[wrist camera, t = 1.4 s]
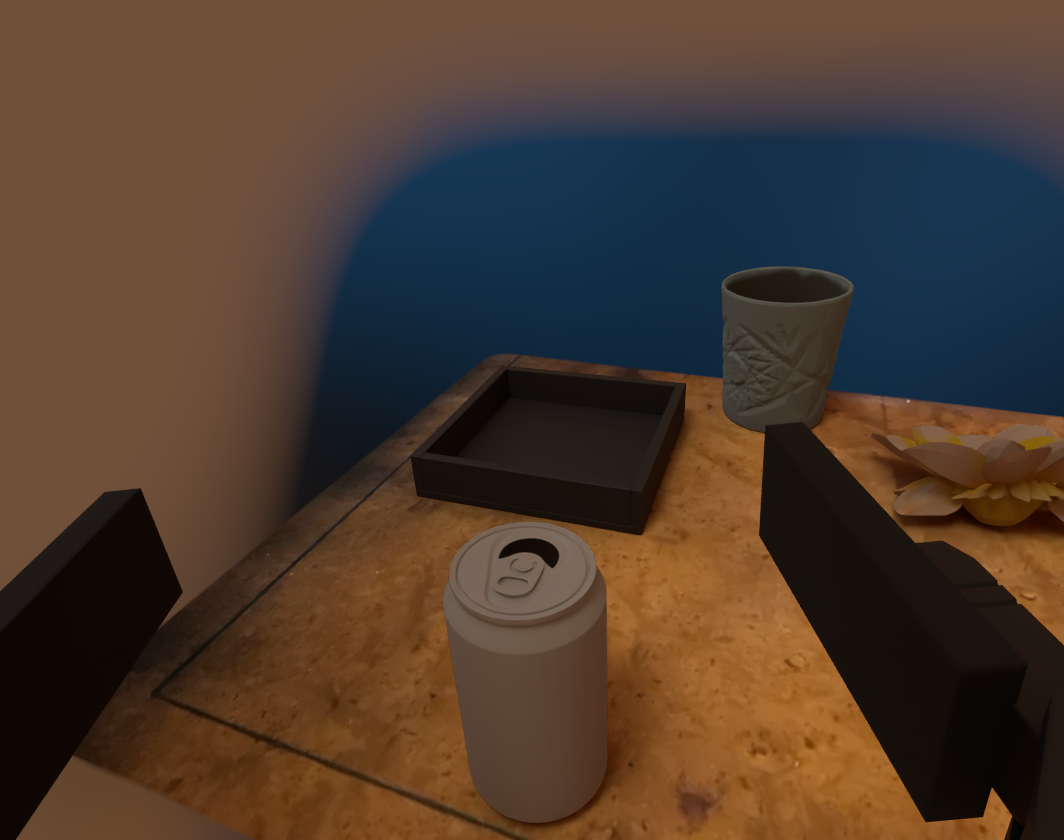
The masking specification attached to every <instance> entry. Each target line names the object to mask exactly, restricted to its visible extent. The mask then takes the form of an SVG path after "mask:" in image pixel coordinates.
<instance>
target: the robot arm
mask: <svg viewBox="0 0 1064 840" xmlns="http://www.w3.org/2000/svg"><path fill="white" fill-rule="evenodd" d="M759 536H760V538H761V539H762V541H763V543H764V545H765V546H766V548H767V550H768V551H769V553H770V555H771V557H772V558H773V560H774V562H775V564H776V565H777V567H778V569H779V570H780V572H781V574H782V576H783V577H784V579H785V581H786V582H787V584H788V586H789V588H790V589H791V591H792V593H793V595H794V596H795V598H796V600H797V601H798V603H799V605H800V607H801V608H802V610H803V612H804V613H805V615H806V617H807V619H808V620H809V622H810V624H811V626H812V627H813V629H814V631H815V632H816V634H817V636H818V638H819V639H820V641H821V643H822V644H823V646H824V648H825V650H826V651H827V653H828V655H829V657H830V658H831V660H832V662H833V663H834V665H835V667H836V669H837V670H838V672H839V674H840V675H841V677H842V679H843V681H844V682H845V684H846V686H847V688H848V689H849V691H850V693H851V694H852V696H853V698H854V700H855V701H856V703H857V705H858V706H859V708H860V710H861V712H862V713H863V715H864V717H865V719H866V720H867V722H868V724H869V725H870V727H871V729H872V731H873V732H874V734H875V736H876V737H877V739H878V741H879V743H880V744H881V746H882V748H883V750H884V751H885V753H886V755H887V756H888V758H889V760H890V762H891V763H892V765H893V767H894V768H895V770H896V772H897V774H898V775H899V777H900V779H901V781H902V782H903V784H904V786H905V787H906V789H907V791H908V793H909V794H910V796H911V798H912V799H913V801H914V803H915V805H916V806H917V808H918V810H919V812H920V813H921V815H922V817H923V818H924V820H925V822H933V821H944V820H955V819H966V818H977V817H983V815H984V811H985V808H986V805H987V801H988V798H989V794H990V791H991V788H993V789H994V790H995V792H996V793H997V795H998V796H999V797H1000V799H1001V800H1002V802H1003V803H1004V805H1005V806H1006V807H1007V809H1008V810H1009V812H1010V813H1011V814H1012V818H1011V821H1010V824H1009V827H1008V830H1007V833H1006V836H1005V839H1004V840H1064V645H1063V644H1062V643H1061V642H1060V641H1059V640H1058V639H1057V638H1056V637H1055V636H1054V635H1053V634H1052V633H1051V632H1049V631H1048V630H1047V629H1046V628H1045V627H1044V626H1043V625H1042V624H1041V623H1040V622H1039V621H1038V620H1037V619H1036V618H1035V617H1034V616H1033V615H1032V614H1031V613H1030V612H1029V611H1028V610H1027V609H1026V608H1025V607H1024V606H1023V605H1022V604H1017V601H1016V598H1015V597H1014V596H1012V595H1011V594H1010V593H1009V592H1008V591H1007V590H1006V589H1005V588H1004V587H1003V586H1002V585H1000V586H999V585H998V583H997V580H996V579H995V578H994V577H993V576H992V575H991V574H990V573H989V572H988V571H987V570H986V569H985V568H984V567H983V566H982V565H981V564H980V563H979V562H978V561H977V560H976V559H974V558H973V557H971V556H969V555H967V554H965V553H964V552H962V551H960V550H958V549H956V548H955V547H953V546H951V545H949V544H947V543H946V542H944V541H934V542H924V543H915V542H914V541H913V540H912V539H911V538H910V537H909V536H908V535H907V534H906V533H905V532H904V531H903V530H902V528H901V527H900V526H899V525H898V524H897V523H896V522H895V521H894V520H893V519H892V518H891V517H890V516H889V514H888V513H887V512H886V511H885V510H884V509H883V508H882V507H881V506H880V505H879V504H878V503H877V501H876V500H875V499H874V498H873V497H872V496H871V495H870V494H869V493H868V492H867V491H866V490H865V489H864V487H863V486H862V485H861V484H860V483H859V482H858V481H857V480H856V479H855V478H854V477H853V476H852V475H851V473H850V472H849V471H848V470H847V469H846V468H845V467H844V466H843V465H842V464H841V463H840V462H839V461H838V459H837V458H836V457H835V456H834V455H833V454H832V453H831V452H830V451H829V450H828V449H827V448H826V447H825V445H824V444H823V443H822V442H821V441H820V440H819V439H818V438H817V437H816V436H815V435H814V434H813V433H812V431H811V430H810V429H809V428H808V427H807V426H806V425H805V424H804V423H803V422H794V423H784V424H775V425H765V442H764V459H763V477H762V494H761V511H760V529H759ZM182 592H183V591H182V589H181V587H180V584H179V581H178V579H177V577H176V574H175V572H174V569H173V567H172V564H171V562H170V559H169V557H168V554H167V552H166V550H165V547H164V545H163V542H162V540H161V537H160V535H159V532H158V530H157V528H156V525H155V523H154V520H153V518H152V515H151V513H150V510H149V508H148V505H147V503H146V501H145V498H144V495H143V493H142V490H141V489H130V490H120V491H110V492H104V493H103V494H102V495H101V496H100V497H99V498H98V499H97V500H96V501H95V502H94V503H93V504H92V505H91V506H90V507H88V508H87V509H86V510H85V511H84V512H83V513H82V514H81V515H80V516H79V517H78V518H77V519H76V520H75V521H74V522H73V523H72V524H71V525H70V526H68V527H67V528H66V529H65V530H64V531H63V532H62V533H61V534H60V535H59V536H58V537H57V538H56V539H55V540H54V541H53V542H52V543H51V544H50V545H49V546H47V548H45V549H44V550H43V551H42V552H41V553H40V554H39V555H38V556H37V557H36V558H35V559H34V560H33V561H32V562H31V563H30V564H29V565H27V567H25V568H24V569H23V570H22V571H21V572H20V573H19V574H18V575H17V576H16V577H15V578H14V579H13V580H12V581H11V582H10V583H9V584H7V586H5V587H4V588H3V589H2V590H1V591H0V840H16V838H17V837H18V836H19V834H20V833H21V831H22V830H23V828H24V827H25V825H26V824H27V822H28V821H29V819H30V818H31V816H32V815H33V813H34V812H35V810H36V809H37V807H38V806H39V804H40V803H41V801H42V800H43V798H44V797H45V795H46V794H47V793H48V791H49V790H50V788H51V787H52V785H53V784H54V782H55V780H56V779H57V778H58V776H59V775H60V773H61V772H62V770H63V769H64V767H65V766H66V764H67V763H68V761H69V760H70V758H71V757H72V755H73V754H74V753H75V751H76V750H77V748H78V747H79V745H80V744H81V742H82V741H83V739H84V738H85V736H86V735H87V733H88V732H89V730H90V729H91V727H92V726H93V724H94V723H95V721H96V720H97V718H98V717H99V715H100V714H101V712H102V711H103V710H104V708H105V707H106V705H107V704H108V702H109V701H110V699H111V698H112V696H113V695H114V693H115V692H116V690H117V689H118V687H119V686H120V684H121V683H122V681H123V680H124V678H125V677H126V675H127V674H128V672H129V671H130V670H131V668H132V667H133V665H134V664H135V662H136V661H137V659H138V658H139V656H140V655H141V653H142V652H143V650H144V649H145V647H146V646H147V644H148V643H149V641H150V640H151V638H152V637H153V635H154V634H155V632H156V631H157V630H158V628H159V627H160V625H161V624H162V622H163V621H164V619H165V618H166V616H167V615H168V613H169V611H170V610H171V608H172V607H173V606H174V604H175V603H176V601H177V600H178V598H179V597H180V595H181V594H182Z"/></svg>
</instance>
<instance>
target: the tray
mask: <svg viewBox="0 0 1064 840" xmlns="http://www.w3.org/2000/svg"><path fill="white" fill-rule="evenodd" d="M685 394H686V383H676V382H665V381H655V380H645V379H634V378H624V377H614V376H604V375H593V374H583V373H573V372H562V371H552V370H542V369H532V368H521V367H511V366H510V367H509V366H501V367H500V368H499V369H498V370H497V371H496V372H495V373H494V374H493V375H492V376H491V377H490V378H489V379H488V380H487V381H486V382H485V383H484V384H483V385H482V386H481V387H480V388H479V389H478V390H477V391H476V392H475V393H474V394H473V395H472V396H471V397H470V398H469V399H468V400H467V401H466V402H465V403H464V404H463V405H462V406H461V407H460V408H459V409H458V410H457V411H455V412H454V413H453V414H452V415H451V416H450V417H449V418H448V419H447V420H446V421H445V422H444V423H443V424H442V425H441V426H440V427H439V428H438V429H437V430H436V431H435V432H434V433H433V434H432V435H431V436H430V437H429V438H428V439H427V440H426V441H425V442H424V443H423V444H422V445H421V446H420V447H419V448H418V449H417V450H416V451H415V452H414V453H413V454H412V455H411V462H412V468H413V474H414V480H415V486H416V492H417V495H418V496H423V497H429V498H435V499H440V500H446V501H451V502H457V503H463V504H468V505H474V506H480V507H485V508H491V509H497V510H502V511H508V512H513V513H519V514H525V515H530V516H536V517H542V518H547V519H553V520H559V521H564V522H570V523H575V524H581V525H587V526H592V527H598V528H604V529H609V530H615V531H621V532H626V533H632V534H637V535H641V534H642V532H643V529H644V527H645V524H646V521H647V518H648V516H649V513H650V510H651V508H652V505H653V502H654V499H655V497H656V494H657V491H658V489H659V486H660V483H661V480H662V478H663V475H664V472H665V470H666V467H667V464H668V461H669V459H670V456H671V453H672V451H673V448H674V445H675V443H676V440H677V437H678V434H679V432H680V429H681V426H682V424H683V421H684V413H685Z"/></svg>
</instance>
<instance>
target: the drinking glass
mask: <svg viewBox="0 0 1064 840" xmlns="http://www.w3.org/2000/svg"><path fill="white" fill-rule="evenodd" d="M853 290H854V287H853V284H852V283H851V282H850V281H849V280H847V279H846V278H844V277H842V276H840V275H837V274H833V273H830V272H826V271H821V270H817V269H809V268H801V267H764V268H755V269H751V270H746V271H742V272H738V273H734V274H732V275H730V276H729V277H727V278H726V279H724V281H723V283H722V308H723V321H724V323H725V326H724V328H723V350H724V353H723V359H724V365H723V371H724V372H723V408H724V412H725V414H726V416H727V417H728V418H729V419H730V420H731V421H733V422H735V423H736V424H738V425H740V426H742V427H745V428H748V429H751V430H754V431H759V432H764V433H765V425H775V424H784V423H794V422H803V423H804V424H805V425H806V426H807V427H808V428H809V429H811V428H813V427H815V426H816V425H817V424H818V423H820V420H821V418H822V416H823V412H824V408H825V403H826V399H827V390H826V389H827V387H828V386H829V384H830V379H831V377H832V375H833V366H834V365H835V362H836V358H837V350H838V346H839V343H840V337H841V333H842V331H843V326H844V322H845V319H846V315H847V312H848V308H849V305H850V301H851V298H852V294H853Z"/></svg>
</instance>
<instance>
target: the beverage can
mask: <svg viewBox="0 0 1064 840" xmlns="http://www.w3.org/2000/svg"><path fill="white" fill-rule="evenodd" d="M443 607H444V613H445V619H446V625H447V632H448V638H449V644H450V650H451V656H452V663H453V669H454V675H455V681H456V688H457V694H458V700H459V706H460V712H461V719H462V725H463V731H464V737H465V744H466V750H467V756H468V762H469V768H470V774H471V777H472V780H473V783H474V785H475V787H476V789H477V791H478V792H479V794H480V795H481V797H482V798H483V799H484V800H485V801H486V802H487V804H488V805H490V806H491V807H492V808H493V809H494V810H496V811H497V812H499V813H500V814H502V815H504V816H506V817H508V818H511V819H514V820H517V821H521V822H527V823H545V822H551V821H555V820H559V819H562V818H564V817H567V816H569V815H571V814H573V813H574V812H576V811H578V810H579V809H580V808H582V807H583V806H584V805H585V804H586V803H587V802H588V801H589V800H590V799H591V798H592V797H593V796H594V794H595V793H596V792H597V790H598V789H599V787H600V785H601V783H602V781H603V778H604V775H605V772H606V768H607V761H608V734H607V604H606V585H605V581H604V578H603V576H602V574H601V572H600V570H599V569H598V567H597V566H596V560H595V557H594V554H593V552H592V550H591V548H590V547H589V546H588V544H587V543H586V542H585V541H584V540H583V539H582V538H580V537H579V536H577V535H576V534H574V533H572V532H571V531H569V530H567V529H565V528H562V527H559V526H556V525H552V524H548V523H541V522H516V523H509V524H504V525H500V526H497V527H494V528H491V529H488V530H486V531H484V532H482V533H480V534H478V535H476V536H475V537H473V538H471V539H470V540H469V541H467V542H466V543H465V544H464V545H463V546H462V547H461V548H460V549H459V551H458V552H457V553H456V554H455V556H454V558H453V560H452V563H451V566H450V570H449V581H448V583H447V585H446V588H445V591H444V597H443Z"/></svg>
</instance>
